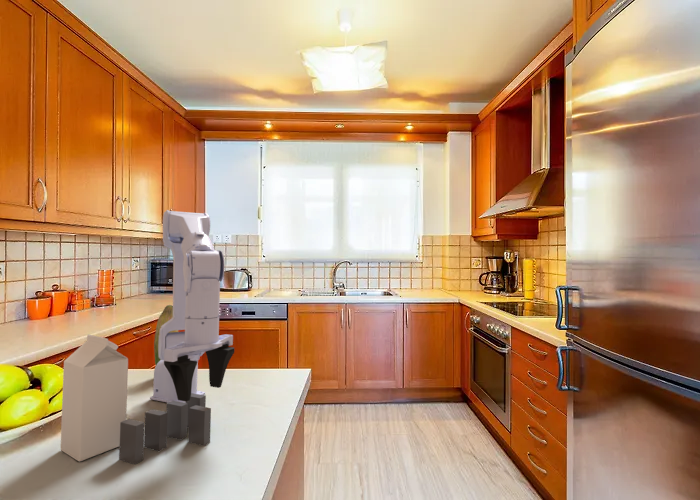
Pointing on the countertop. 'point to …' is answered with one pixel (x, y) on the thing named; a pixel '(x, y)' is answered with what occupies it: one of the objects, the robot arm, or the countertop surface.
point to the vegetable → (163, 318)
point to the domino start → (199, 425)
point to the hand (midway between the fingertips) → (200, 393)
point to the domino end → (131, 441)
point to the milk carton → (93, 398)
